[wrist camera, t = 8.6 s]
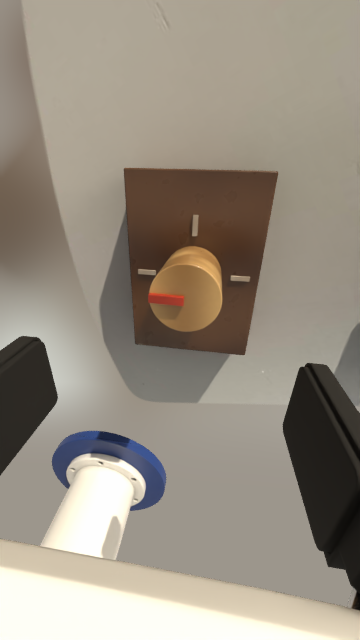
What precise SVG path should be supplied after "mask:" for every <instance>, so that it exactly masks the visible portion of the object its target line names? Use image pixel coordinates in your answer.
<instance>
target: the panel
mask: <svg viewBox="0 0 360 640" xmlns="http://www.w3.org/2000/svg"><path fill="white" fill-rule="evenodd" d="M277 177H278V172H277V171H241V170H197V169H154V168H124V179H125V194H126V210H127V225H128V240H129V255H130V270H131V285H132V301H133V316H134V331H135V344H140V345H149V346H159V347H169V348H179V349H188V350H198V351H208V352H217V353H227V354H237V355H245V351H246V346H247V340H248V335H249V329H250V324H251V319H252V313H253V308H254V302H255V297H256V291H257V286H258V280H259V275H260V269H261V264H262V259H263V253H264V248H265V242H266V237H267V231H268V226H269V220H270V215H271V209H272V204H273V199H274V193H275V188H276V182H277ZM189 246H196V247H201V248H204V249H206V250H208V251H209V252H210V253H212V254H213V255H214V256H215V257H216V259H217V260H218V262H219V264H220V267H221V274H222V306H221V309H220V312H219V314H218V316H217V317H216V319H215V320H214V321H213V322H212V323H211V324H209V325H208V326H206V327H205V328H203V329H200V330H197V331H192V332H182V331H177V330H174V329H171V328H169V327H167V326H166V325H164V324H163V323H162V322H161V321H160V320H159V319H158V318H157V317H156V316H155V314H154V312H153V311H152V308H151V306H150V303H148V294H149V291H150V286H151V284H152V282H153V280H154V278H155V277H156V275H157V274H158V273H159V271H160V270H161V269H162V267H163V266H164V265H165V263H166V262H167V261H168V259H169V258H170V256H171V255H172V254H173V253H175V252H176V251H177V250H179V249H181V248H184V247H189Z"/></svg>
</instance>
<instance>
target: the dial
mask: <svg viewBox="0 0 360 640" xmlns="http://www.w3.org/2000/svg"><path fill="white" fill-rule="evenodd" d="M148 303H150V306H151V308H152V311H153V312H154V314H155V316H156V317H157V318H158V319H159V320H160V321H161V322H162V323H163V324H164V325H166V326H167V327H169V328H171V329H174V330H177V331H182V332H192V331H197V330H200V329H203V328H205V327H206V326H208V325H209V324H211V323H212V322H213V321H214V320H215V319H216V317H217V316H218V314H219V312H220V309H221V306H222V274H221V267H220V264H219V262H218V260H217V259H216V257H215V256H214V255H213V254H212V253H210V252H209V251H208V250H206V249H204V248H201V247H196V246H189V247H184V248H181V249H179V250H177V251H176V252H175V253H173V254H172V255H171V256H170V258H169V259H168V261H167V262H166V263H165V265H164V266H163V267H162V269H161V270H160V271H159V273H158V274H157V275H156V277H155V278H154V280H153V282H152V284H151V286H150V291H149V294H148Z"/></svg>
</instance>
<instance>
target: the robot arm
mask: <svg viewBox="0 0 360 640" xmlns="http://www.w3.org/2000/svg"><path fill="white" fill-rule="evenodd" d="M57 398H58V396H57V391H56V387H55V383H54V379H53V375H52V371H51V367H50V364H49V360H48V356H47V352H46V348H45V345H44V343H43V342H41V340H40V339H39V338H37V337H27V336H21V337H19V338H18V339H16V340H15V341H13V342H12V343H10V344H9V345H8V346H6V347H5V348H3V349H2V350H1V351H0V475H1V473H2V472H3V471H4V470H5V469H6V467H7V466H8V465H9V463H10V462H11V461H12V459H13V458H14V457H15V456H16V454H17V453H18V452H19V451H20V449H21V448H22V446H23V445H24V444H25V443H26V442H27V440H28V439H29V438H30V437H31V435H32V434H33V433H34V431H35V430H36V429H37V427H38V426H39V425H40V424H41V422H42V421H43V420H44V419H45V417H46V416H47V415H48V413H49V412H50V411H51V410H52V408H53V407H54V406H55V404H56V402H57ZM283 433H284V437H285V440H286V443H287V447H288V450H289V454H290V457H291V461H292V465H293V467H294V471H295V475H296V478H297V481H298V485H299V489H300V492H301V496H302V499H303V503H304V506H305V510H306V513H307V516H308V520H309V524H310V527H311V530H312V534H313V537H314V541H315V544H316V546H317V548H318V549H319V550H320V551H324V554H325V558H326V561H327V565H328V567H333V568H339V569H344V570H346V573H347V576H348V579H349V581H350V584H351V586H353V590H352V592H351V595H350V598H349V601H348V605H347V607H344V606H340V605H335V604H331V603H326V602H321V601H317V600H312V599H307V598H303V597H298V596H294V595H289V594H284V593H279V592H275V591H270V590H266V589H261V588H256V587H251V586H246V585H241V584H236V583H230V582H225V581H220V580H215V579H210V578H205V577H199V576H194V575H189V574H184V573H179V572H174V571H169V570H163V569H159V568H153V567H148V566H143V565H138V564H133V563H127V562H122V561H117V560H116V557H117V554H118V550H119V547H120V543H121V539H122V536H123V532H124V529H125V525H126V521H127V518H128V514H129V511H130V507H131V506H133V505H135V504H137V503H139V502H140V501H141V500H142V499H143V497H144V494H145V490H146V483H145V480H144V478H143V477H142V475H141V474H140V473H139V471H138V470H137V469H136V468H134V467H133V466H132V465H130V464H129V463H127V462H125V461H123V460H121V459H119V458H116V457H113V456H110V455H106V454H99V453H89V454H84V455H80V456H78V457H76V458H74V459H73V460H72V461H71V463H70V465H69V466H68V468H67V471H66V476H67V480H68V482H69V484H70V487H69V489H68V491H67V493H66V495H65V497H64V499H63V501H62V503H61V505H60V507H59V509H58V511H57V513H56V515H55V516H54V518H53V520H52V522H51V524H50V526H49V528H48V530H47V532H46V534H45V536H44V538H43V540H42V542H41V544H40V546H37V545H32V544H27V543H21V542H16V541H11V540H5V539H0V640H360V413H359V412H358V411H357V409H356V408H355V406H354V405H353V403H352V402H351V400H350V399H349V397H348V396H347V394H346V393H345V391H344V390H343V388H342V387H341V385H340V384H339V382H338V381H337V379H336V378H335V376H334V375H333V373H332V372H331V370H330V369H329V367H328V366H327V365H323V364H313V363H307V364H306V365H305V367H300V369H299V371H298V375H297V378H296V381H295V385H294V388H293V391H292V395H291V398H290V402H289V405H288V409H287V412H286V415H285V418H284V422H283Z"/></svg>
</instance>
